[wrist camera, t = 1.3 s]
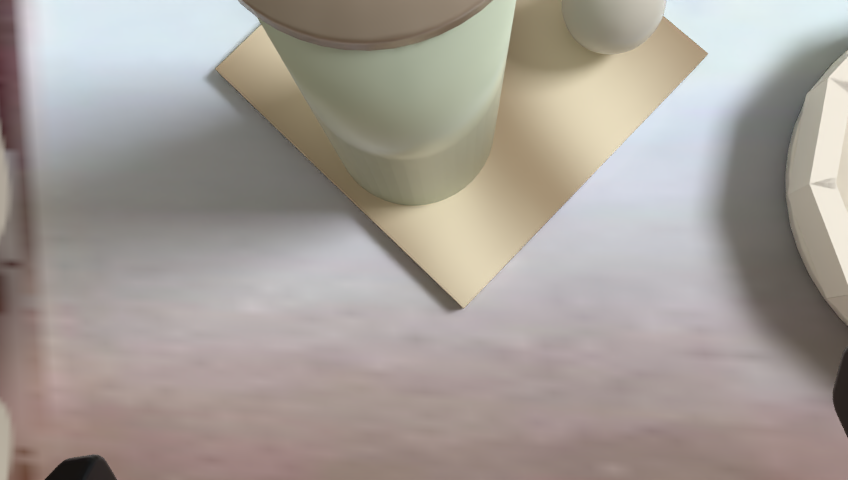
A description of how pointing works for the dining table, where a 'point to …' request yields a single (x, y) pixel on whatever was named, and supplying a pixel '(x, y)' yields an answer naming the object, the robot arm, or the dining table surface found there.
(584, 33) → the glossy white ball
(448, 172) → the pale green lidded canister
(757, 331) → the dining table surface
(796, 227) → the round white tray
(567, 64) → the board
